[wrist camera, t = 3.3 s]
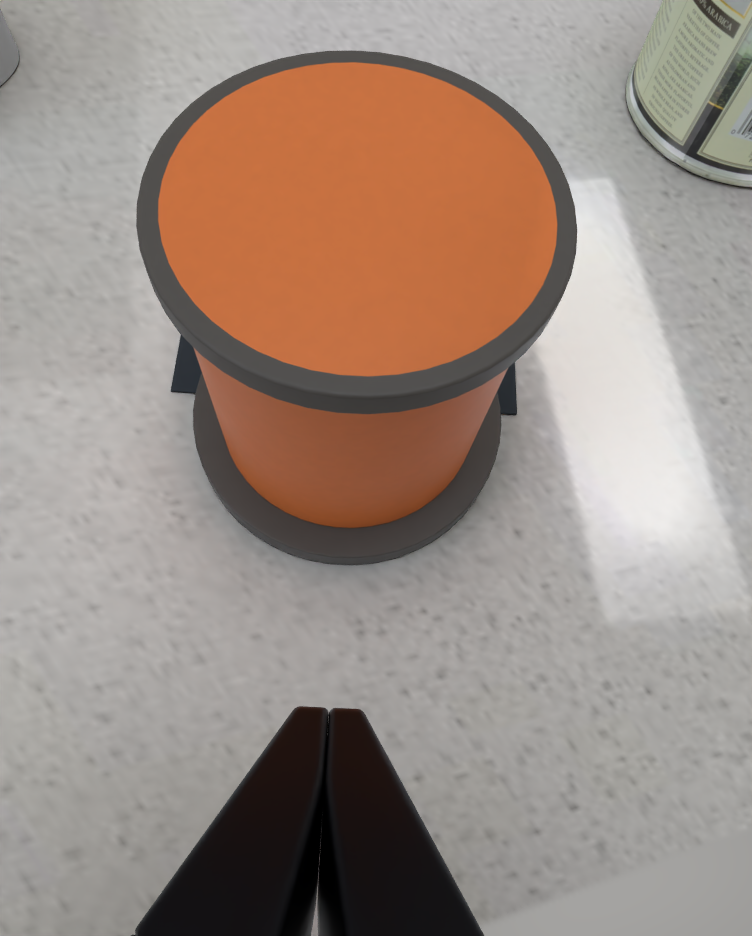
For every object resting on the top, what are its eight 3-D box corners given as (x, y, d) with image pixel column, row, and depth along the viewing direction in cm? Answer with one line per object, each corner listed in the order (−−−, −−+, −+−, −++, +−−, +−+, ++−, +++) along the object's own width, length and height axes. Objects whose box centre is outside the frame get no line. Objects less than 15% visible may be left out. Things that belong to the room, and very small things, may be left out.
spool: (416, 623, 23) (485, 522, 13) (136, 474, 24) (-5, 275, 14) (539, 371, 27) (668, 140, 17) (294, 255, 28) (274, -24, 18)
